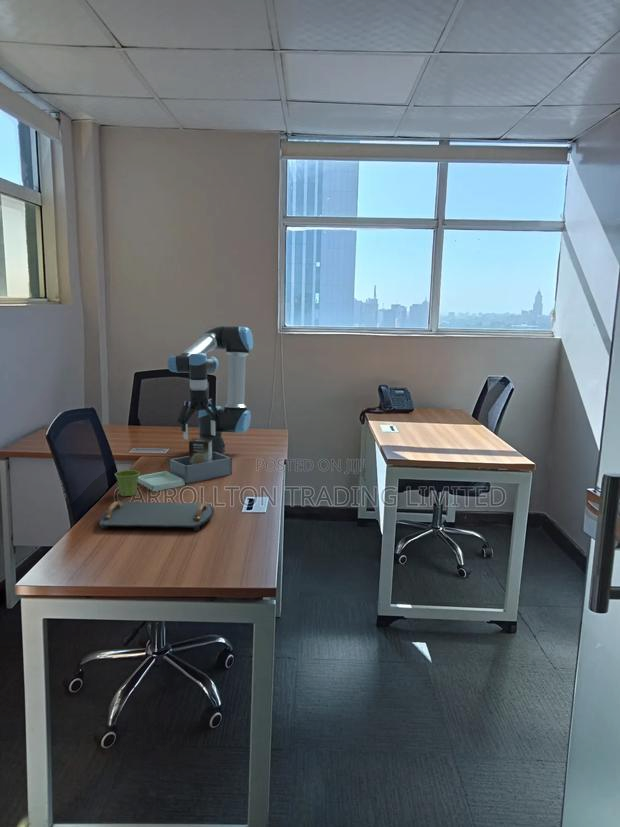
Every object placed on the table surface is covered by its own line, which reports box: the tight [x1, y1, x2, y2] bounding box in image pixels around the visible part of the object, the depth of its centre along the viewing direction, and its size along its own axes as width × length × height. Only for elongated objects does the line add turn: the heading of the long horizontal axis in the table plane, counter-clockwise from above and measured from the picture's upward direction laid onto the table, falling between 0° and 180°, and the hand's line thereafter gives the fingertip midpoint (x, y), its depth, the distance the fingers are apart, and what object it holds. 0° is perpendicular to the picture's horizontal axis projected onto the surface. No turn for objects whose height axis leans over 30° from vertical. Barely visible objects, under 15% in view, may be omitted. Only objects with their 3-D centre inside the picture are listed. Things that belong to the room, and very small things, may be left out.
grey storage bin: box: [168, 452, 233, 484], centre depth 253 cm, size 23×15×8 cm, turn 130°
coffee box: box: [188, 437, 212, 465], centre depth 252 cm, size 9×6×16 cm
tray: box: [137, 470, 186, 493], centre depth 240 cm, size 14×17×2 cm
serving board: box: [98, 501, 215, 532], centre depth 199 cm, size 39×23×6 cm, turn 89°
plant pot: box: [114, 469, 141, 497], centre depth 226 cm, size 9×9×9 cm
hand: (199, 436), depth 250 cm, fingers open, 13 cm apart
